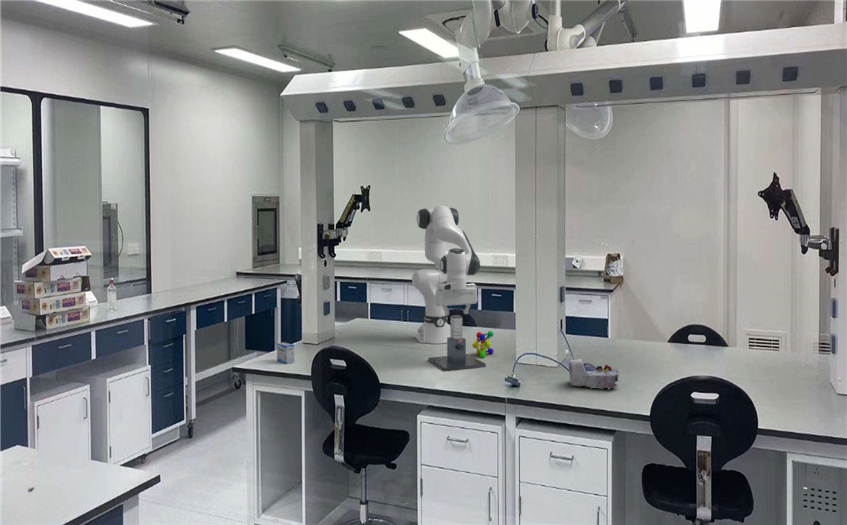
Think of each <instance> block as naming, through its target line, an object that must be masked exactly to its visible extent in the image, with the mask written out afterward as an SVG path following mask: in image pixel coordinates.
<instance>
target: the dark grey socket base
mask: <svg viewBox="0 0 847 525" xmlns="http://www.w3.org/2000/svg"><path fill="white" fill-rule="evenodd" d="M466 341H467V339H466V338H464V337H462V339H457V340H453V339H451V336H450V337H447V343H446V345H447V346H446V352H447V354H446V355H445V356H435V357H434V356H433V357H428V358H427V362H429V363H430V362H431V364H432V363H433V364H432V365H434V366H435V365H436V368H439V369H440V368H441V370H442V371H444V372H451V371H452V370H453V371H459V370H461V371H462V370H463V371H464V370H471V369H479V368H486V367H487V365H486V363H485V362H483V361H482V360H480V359H477V358H475V357H474V356H472V355H469V354H468V353H467V351H466V348H467V347H466V345H467V344H466V343H467V342H466Z"/></svg>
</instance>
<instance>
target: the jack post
mask: <svg viewBox="0 0 847 525" xmlns="http://www.w3.org/2000/svg"><path fill="white" fill-rule="evenodd" d="M450 337H451V339H453V340H457V339H462V338H463V316H462V315H459V314H456V315H455V314H453V315H450Z"/></svg>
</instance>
